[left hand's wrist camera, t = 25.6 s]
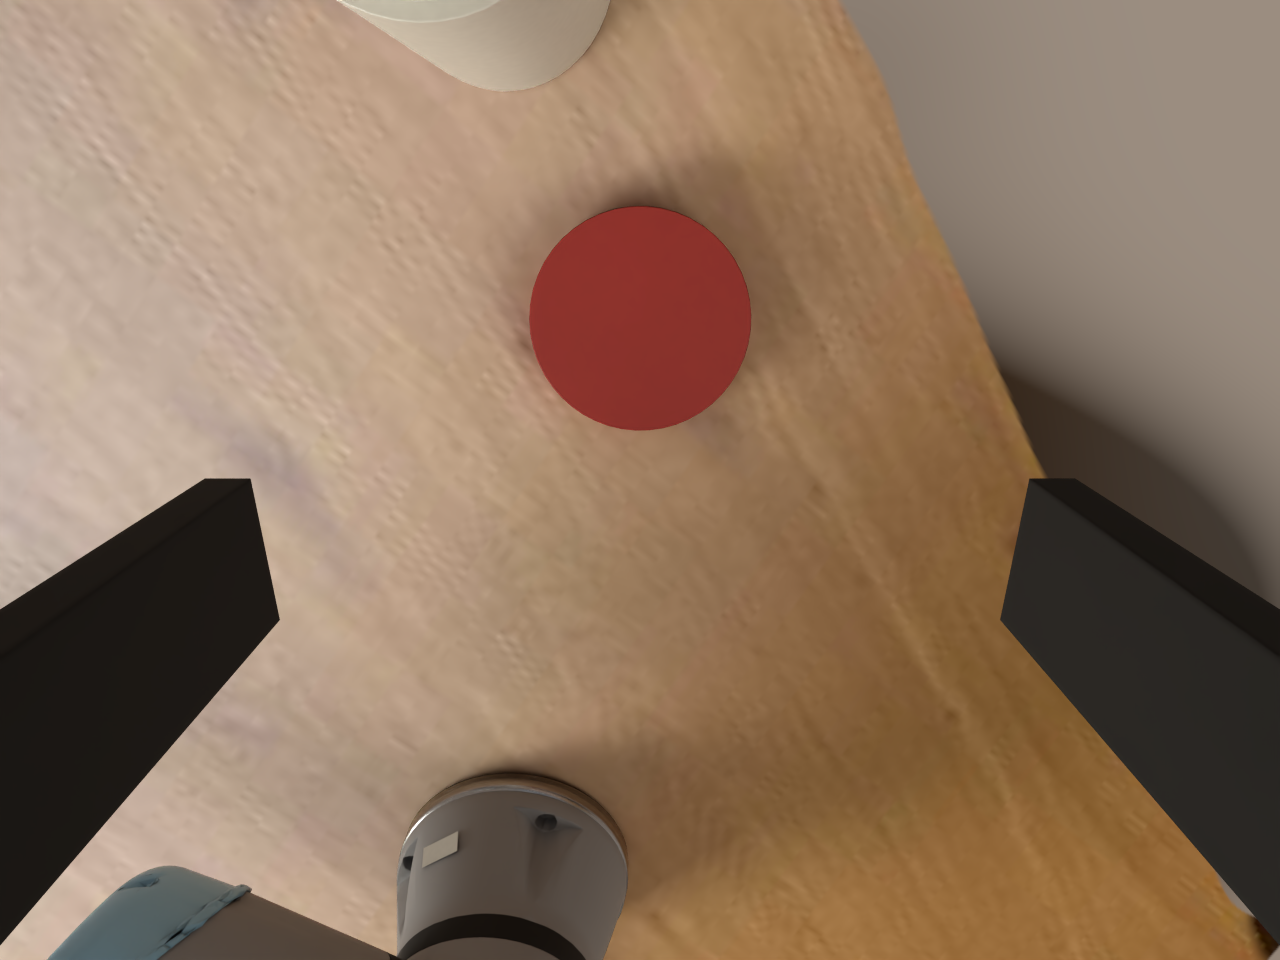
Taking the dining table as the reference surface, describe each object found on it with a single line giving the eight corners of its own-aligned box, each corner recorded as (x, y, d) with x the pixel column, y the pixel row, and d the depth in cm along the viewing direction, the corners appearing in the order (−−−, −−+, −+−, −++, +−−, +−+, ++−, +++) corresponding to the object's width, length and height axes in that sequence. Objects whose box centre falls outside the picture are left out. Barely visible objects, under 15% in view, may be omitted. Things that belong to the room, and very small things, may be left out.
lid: (756, 211, 35) (762, 212, 33) (735, 425, 39) (740, 435, 37) (533, 200, 35) (528, 200, 33) (534, 415, 38) (530, 425, 37)
